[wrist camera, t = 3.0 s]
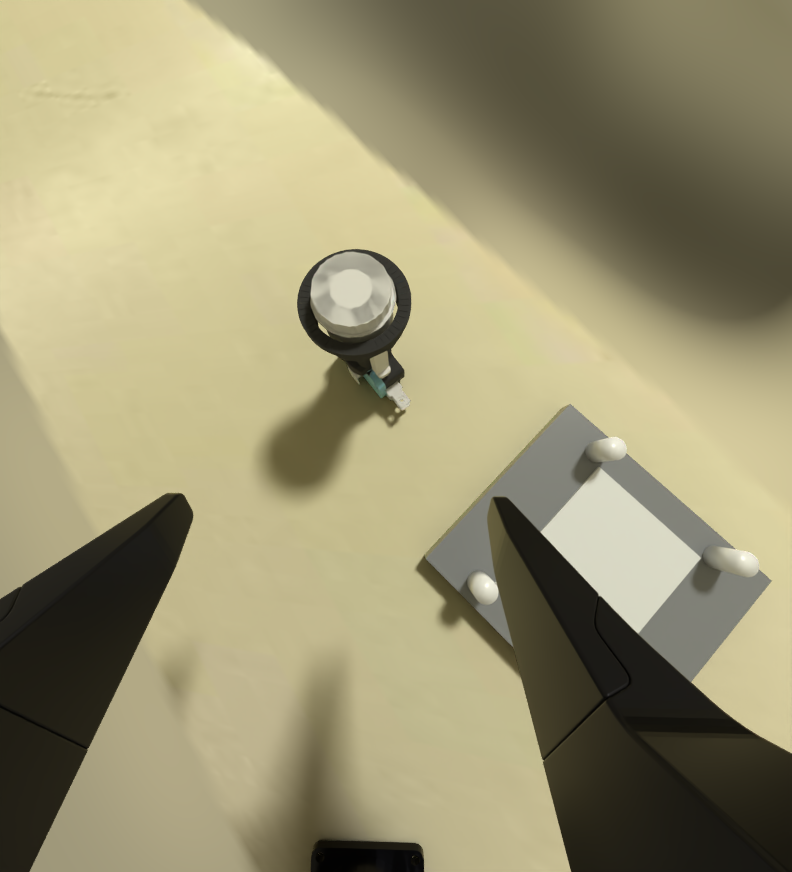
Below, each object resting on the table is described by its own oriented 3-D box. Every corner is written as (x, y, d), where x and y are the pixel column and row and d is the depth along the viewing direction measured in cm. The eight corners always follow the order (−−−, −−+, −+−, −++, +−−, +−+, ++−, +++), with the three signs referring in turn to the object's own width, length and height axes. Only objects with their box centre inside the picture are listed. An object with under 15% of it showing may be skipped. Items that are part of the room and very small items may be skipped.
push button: (434, 388, 25) (455, 320, 15) (375, 433, 24) (356, 394, 14) (378, 319, 25) (362, 212, 16) (320, 362, 25) (266, 279, 15)
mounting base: (614, 747, 21) (651, 793, 18) (424, 554, 23) (427, 565, 20) (752, 575, 22) (810, 590, 19) (561, 408, 24) (586, 396, 21)
